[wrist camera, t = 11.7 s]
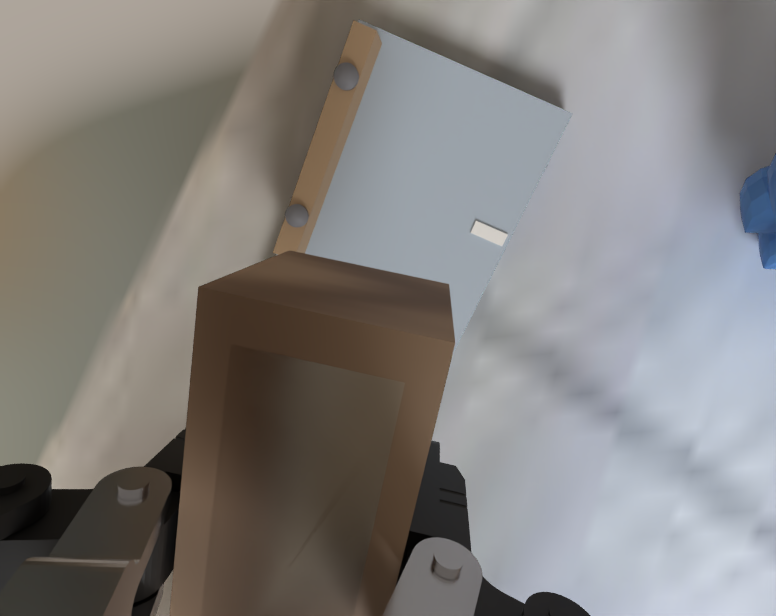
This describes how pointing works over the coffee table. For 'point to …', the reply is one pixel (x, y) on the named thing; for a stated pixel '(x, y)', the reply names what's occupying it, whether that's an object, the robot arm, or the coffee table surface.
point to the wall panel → (419, 167)
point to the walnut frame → (306, 436)
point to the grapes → (761, 211)
